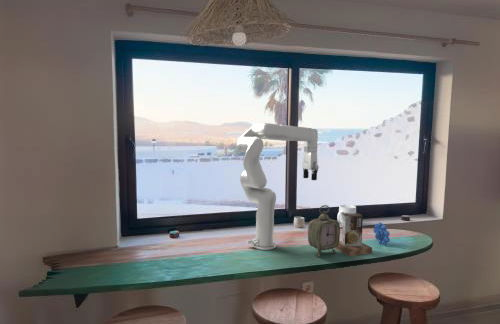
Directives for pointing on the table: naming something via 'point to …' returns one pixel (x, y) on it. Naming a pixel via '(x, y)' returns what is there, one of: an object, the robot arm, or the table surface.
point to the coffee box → (352, 229)
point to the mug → (345, 211)
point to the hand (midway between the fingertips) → (309, 179)
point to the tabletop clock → (324, 232)
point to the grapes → (381, 233)
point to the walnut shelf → (354, 249)
